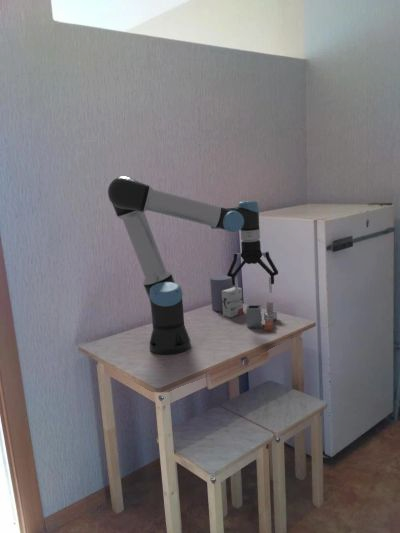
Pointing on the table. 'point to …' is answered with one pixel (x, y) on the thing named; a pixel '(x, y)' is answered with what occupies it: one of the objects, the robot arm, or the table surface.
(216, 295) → the container
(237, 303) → the ink box
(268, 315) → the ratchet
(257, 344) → the table surface
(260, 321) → the socket
